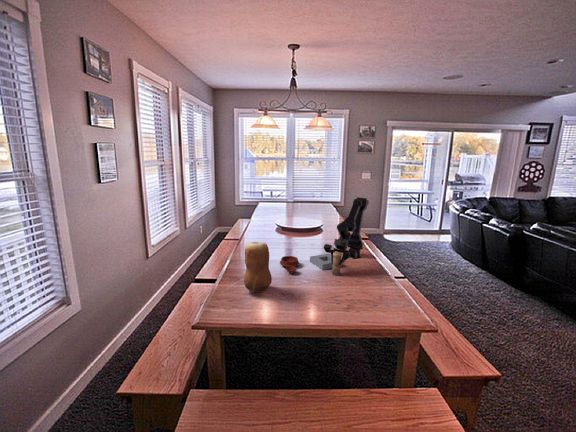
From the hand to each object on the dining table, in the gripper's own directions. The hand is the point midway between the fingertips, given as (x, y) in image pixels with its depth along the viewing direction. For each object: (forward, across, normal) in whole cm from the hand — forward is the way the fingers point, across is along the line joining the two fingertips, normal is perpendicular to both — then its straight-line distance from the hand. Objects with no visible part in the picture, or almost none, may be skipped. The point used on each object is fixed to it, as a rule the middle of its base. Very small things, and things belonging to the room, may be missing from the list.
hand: (335, 264), depth 164 cm
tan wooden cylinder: (+4, 0, +6) cm, 7 cm away
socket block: (-4, -11, +13) cm, 18 cm away
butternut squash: (+32, -26, -22) cm, 47 cm away
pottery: (+9, -26, +1) cm, 27 cm away
